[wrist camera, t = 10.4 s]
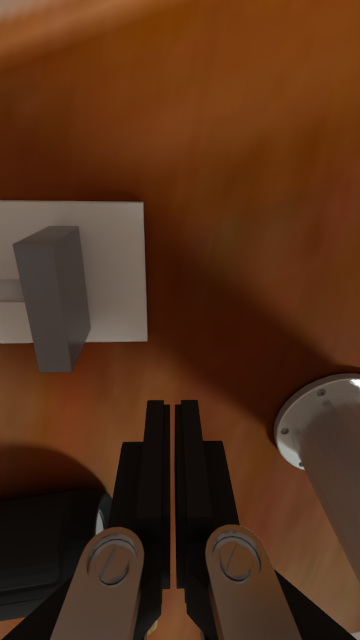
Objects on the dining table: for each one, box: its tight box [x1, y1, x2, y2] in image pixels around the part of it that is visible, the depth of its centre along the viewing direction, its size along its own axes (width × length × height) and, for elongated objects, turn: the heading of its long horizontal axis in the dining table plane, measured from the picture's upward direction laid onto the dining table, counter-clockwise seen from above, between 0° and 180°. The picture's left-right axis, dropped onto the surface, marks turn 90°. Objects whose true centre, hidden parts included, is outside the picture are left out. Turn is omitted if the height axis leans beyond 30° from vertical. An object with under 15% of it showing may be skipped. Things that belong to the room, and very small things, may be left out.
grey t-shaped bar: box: [0, 226, 91, 373], centre depth 21 cm, size 8×8×6 cm
